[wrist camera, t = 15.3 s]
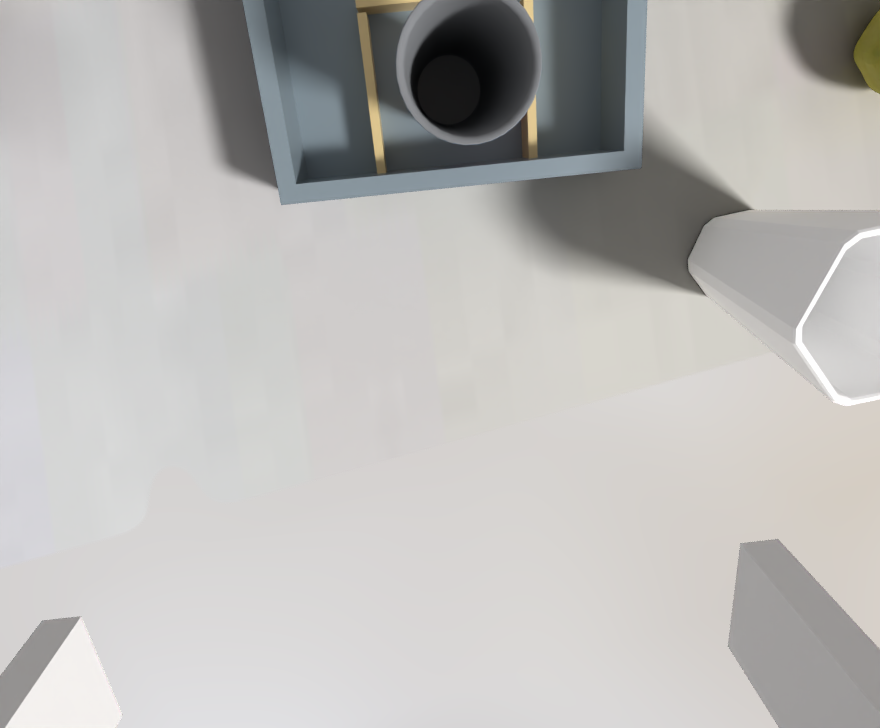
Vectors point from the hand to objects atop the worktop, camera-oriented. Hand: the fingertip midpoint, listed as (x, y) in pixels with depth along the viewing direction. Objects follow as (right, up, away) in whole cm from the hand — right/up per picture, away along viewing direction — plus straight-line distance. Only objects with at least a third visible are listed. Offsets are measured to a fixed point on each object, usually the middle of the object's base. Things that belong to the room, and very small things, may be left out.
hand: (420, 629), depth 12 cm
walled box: (+1, +29, +28) cm, 40 cm away
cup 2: (+24, +14, +35) cm, 45 cm away
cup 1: (+1, +25, +29) cm, 38 cm away
